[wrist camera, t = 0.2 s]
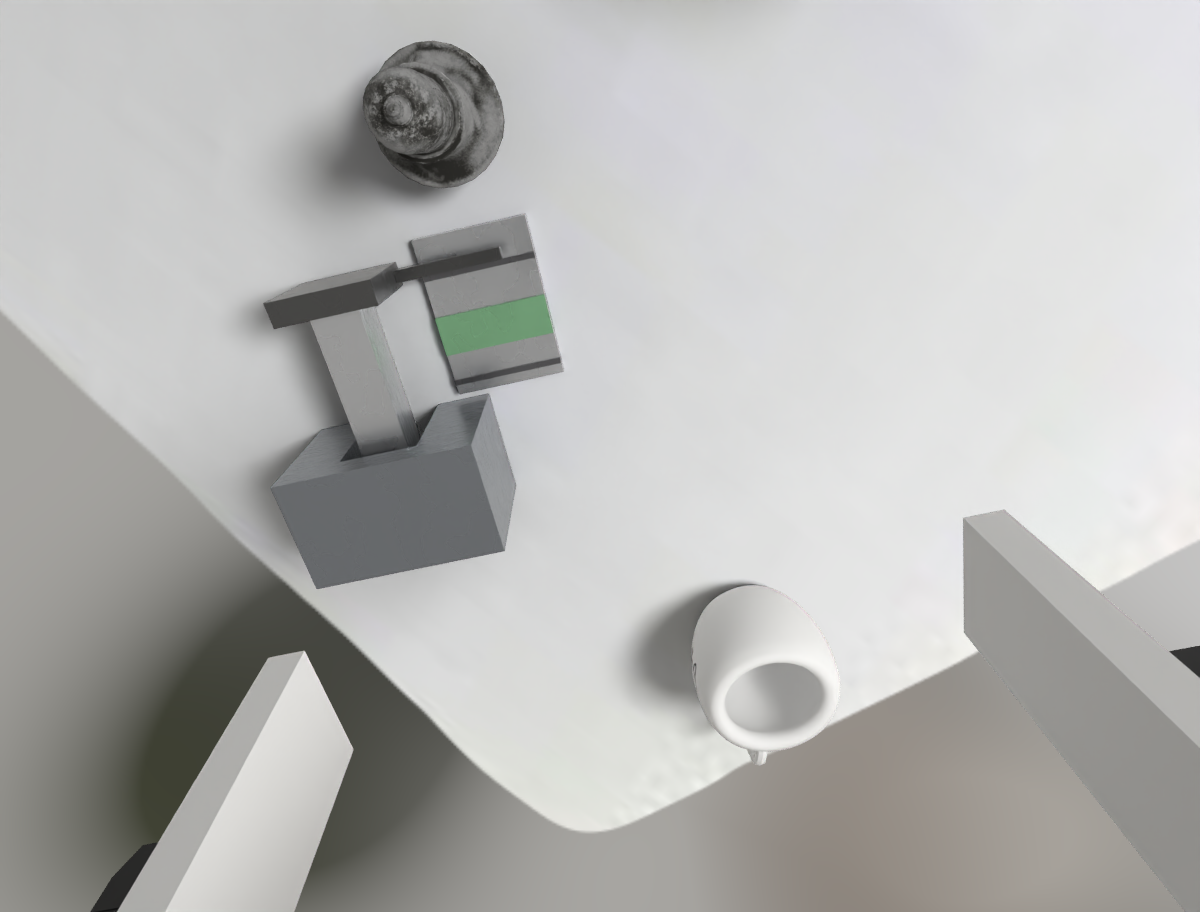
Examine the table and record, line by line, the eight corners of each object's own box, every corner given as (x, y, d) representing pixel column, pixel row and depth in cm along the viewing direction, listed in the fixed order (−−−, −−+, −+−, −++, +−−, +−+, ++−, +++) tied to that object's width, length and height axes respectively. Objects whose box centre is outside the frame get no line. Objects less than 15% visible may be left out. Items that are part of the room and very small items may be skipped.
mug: (683, 569, 46) (703, 649, 38) (813, 563, 46) (857, 642, 38) (680, 711, 50) (697, 805, 43) (797, 705, 51) (834, 799, 43)
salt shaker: (445, 20, 33) (379, -41, 22) (535, 123, 35) (516, 114, 24) (363, 115, 34) (263, 103, 23) (453, 209, 36) (400, 238, 25)
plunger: (302, 283, 36) (263, 303, 32) (499, 238, 36) (488, 252, 31) (364, 443, 40) (337, 481, 36) (543, 404, 39) (539, 438, 35)
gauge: (258, 275, 37) (186, 305, 30) (525, 213, 36) (513, 230, 29) (357, 518, 43) (316, 589, 36) (588, 470, 42) (591, 533, 35)
